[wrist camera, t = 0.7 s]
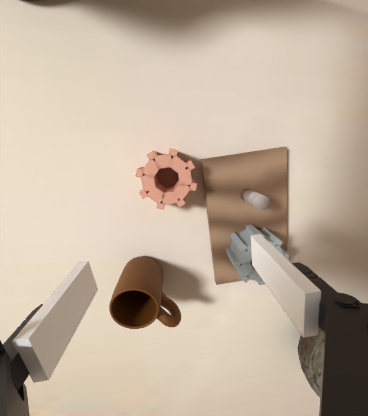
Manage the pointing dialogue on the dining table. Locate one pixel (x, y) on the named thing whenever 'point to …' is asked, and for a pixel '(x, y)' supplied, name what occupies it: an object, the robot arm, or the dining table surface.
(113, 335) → the dining table surface
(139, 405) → the dining table surface
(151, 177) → the gear
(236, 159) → the gear board
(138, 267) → the mug
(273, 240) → the gear
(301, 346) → the vase
